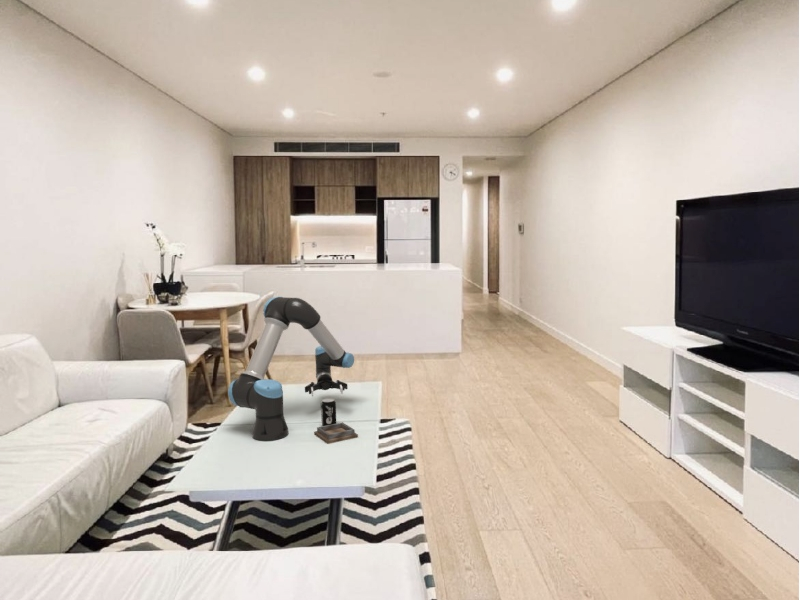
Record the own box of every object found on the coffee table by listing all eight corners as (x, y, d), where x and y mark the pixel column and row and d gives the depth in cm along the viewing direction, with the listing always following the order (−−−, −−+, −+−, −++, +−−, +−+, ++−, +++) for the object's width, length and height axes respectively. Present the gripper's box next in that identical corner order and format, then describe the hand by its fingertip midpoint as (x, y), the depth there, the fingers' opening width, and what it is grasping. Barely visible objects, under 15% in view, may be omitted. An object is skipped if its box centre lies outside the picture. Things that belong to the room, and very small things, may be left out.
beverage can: (339, 425, 257) (338, 399, 255) (328, 429, 252) (327, 402, 251) (329, 422, 261) (328, 397, 260) (318, 426, 256) (317, 400, 255)
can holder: (327, 443, 233) (326, 436, 233) (314, 434, 245) (313, 427, 245) (357, 437, 240) (357, 429, 240) (343, 428, 252) (343, 421, 252)
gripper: (349, 386, 288) (354, 397, 268) (299, 390, 284) (300, 402, 263) (349, 371, 288) (353, 382, 267) (299, 375, 283) (299, 386, 262)
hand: (327, 392), depth 265 cm, fingers open, 13 cm apart
